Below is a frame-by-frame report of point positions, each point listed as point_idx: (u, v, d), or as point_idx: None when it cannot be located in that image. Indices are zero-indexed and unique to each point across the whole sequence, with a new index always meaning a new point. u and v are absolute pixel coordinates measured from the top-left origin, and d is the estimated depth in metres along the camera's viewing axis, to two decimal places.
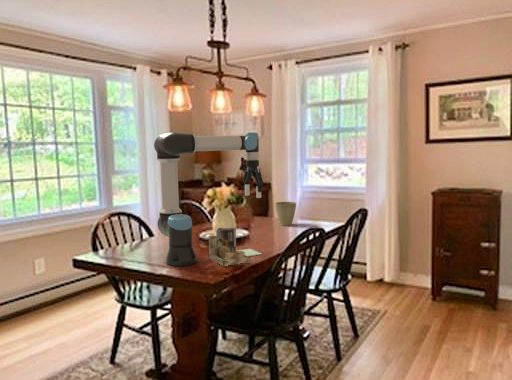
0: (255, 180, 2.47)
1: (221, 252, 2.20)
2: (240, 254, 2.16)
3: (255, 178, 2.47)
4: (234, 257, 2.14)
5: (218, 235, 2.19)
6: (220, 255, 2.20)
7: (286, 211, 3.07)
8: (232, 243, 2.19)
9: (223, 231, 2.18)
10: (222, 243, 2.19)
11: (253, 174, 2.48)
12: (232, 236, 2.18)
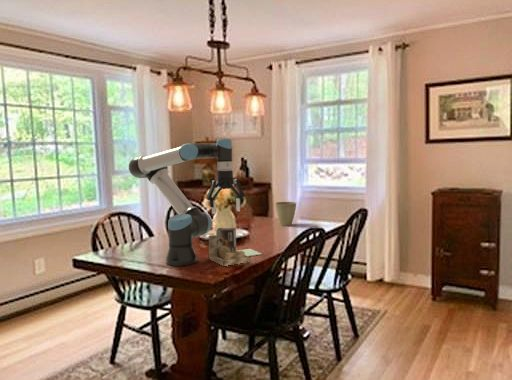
0: None
1: (221, 252, 2.20)
2: (240, 254, 2.16)
3: None
4: (234, 257, 2.14)
5: (218, 235, 2.19)
6: (220, 255, 2.20)
7: (286, 212, 3.07)
8: (232, 243, 2.19)
9: (223, 231, 2.18)
10: (222, 243, 2.19)
11: None
12: (232, 236, 2.18)
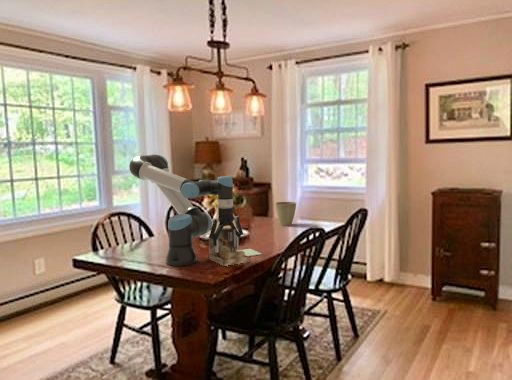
0: None
1: (221, 252, 2.20)
2: (240, 254, 2.16)
3: None
4: (234, 257, 2.14)
5: None
6: (220, 255, 2.20)
7: (286, 211, 3.07)
8: (232, 243, 2.19)
9: (223, 231, 2.19)
10: (222, 243, 2.19)
11: (219, 224, 2.21)
12: (232, 236, 2.18)
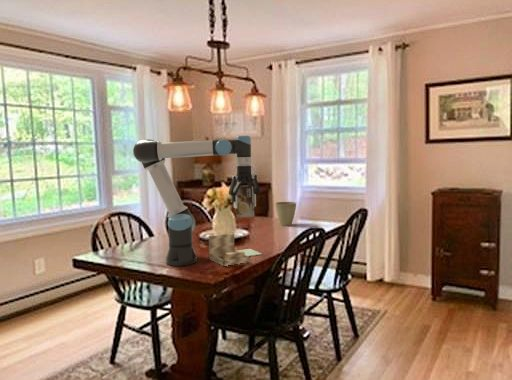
0: None
1: (240, 208, 2.30)
2: (240, 254, 2.16)
3: (235, 186, 2.30)
4: (234, 257, 2.14)
5: None
6: (239, 211, 2.30)
7: (286, 211, 3.07)
8: (250, 199, 2.28)
9: (242, 187, 2.28)
10: (241, 199, 2.29)
11: (237, 181, 2.31)
12: (250, 192, 2.28)
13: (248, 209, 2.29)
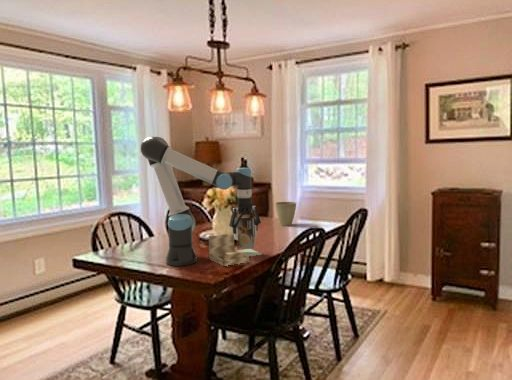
0: (236, 220, 2.32)
1: (241, 239, 2.31)
2: (240, 254, 2.16)
3: (236, 218, 2.32)
4: (234, 257, 2.14)
5: (238, 223, 2.31)
6: (240, 242, 2.32)
7: (286, 211, 3.07)
8: (251, 231, 2.30)
9: (242, 219, 2.30)
10: (242, 231, 2.31)
11: (238, 213, 2.32)
12: (251, 224, 2.30)
13: (249, 241, 2.31)
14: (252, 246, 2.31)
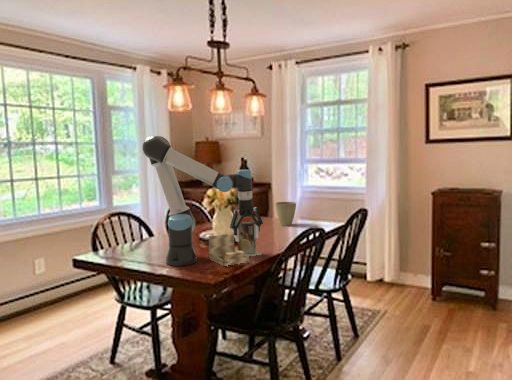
0: None
1: (242, 245, 2.32)
2: (240, 254, 2.16)
3: (237, 219, 2.32)
4: (234, 257, 2.14)
5: (239, 229, 2.31)
6: (241, 248, 2.32)
7: (286, 211, 3.07)
8: (252, 236, 2.31)
9: (244, 225, 2.31)
10: (243, 236, 2.31)
11: (239, 215, 2.33)
12: (252, 229, 2.30)
13: (250, 246, 2.31)
14: (253, 251, 2.31)
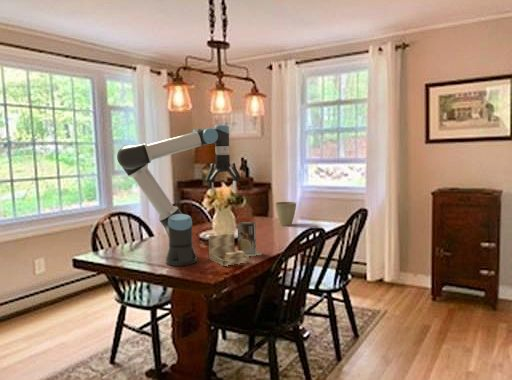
0: None
1: (242, 245, 2.32)
2: (240, 254, 2.16)
3: (213, 174, 2.35)
4: (234, 257, 2.14)
5: (239, 229, 2.31)
6: (241, 248, 2.32)
7: (286, 212, 3.07)
8: (252, 236, 2.30)
9: (244, 225, 2.31)
10: (243, 236, 2.31)
11: None
12: (252, 229, 2.30)
13: (250, 246, 2.31)
14: (253, 251, 2.31)
